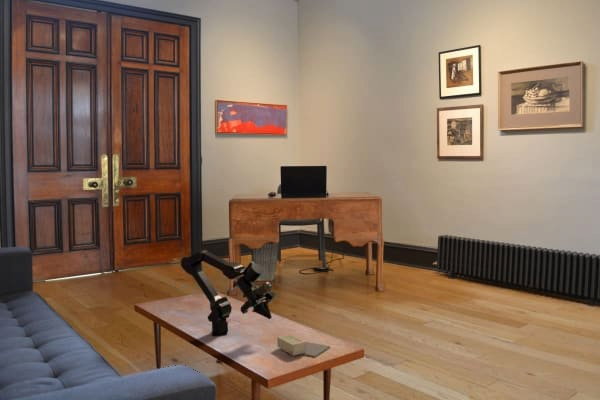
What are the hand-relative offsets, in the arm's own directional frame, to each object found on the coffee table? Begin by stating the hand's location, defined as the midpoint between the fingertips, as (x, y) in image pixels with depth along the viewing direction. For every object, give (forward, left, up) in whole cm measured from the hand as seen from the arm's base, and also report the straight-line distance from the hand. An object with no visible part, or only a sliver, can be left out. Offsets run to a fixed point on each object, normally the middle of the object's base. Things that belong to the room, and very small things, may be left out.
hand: (270, 318), depth 225 cm
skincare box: (+4, -6, -8) cm, 11 cm away
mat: (+13, -11, -10) cm, 20 cm away
